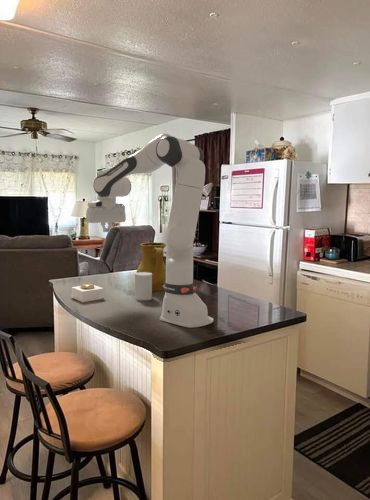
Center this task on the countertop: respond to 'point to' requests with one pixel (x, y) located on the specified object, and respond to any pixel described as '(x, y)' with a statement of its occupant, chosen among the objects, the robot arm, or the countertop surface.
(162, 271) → the pitcher
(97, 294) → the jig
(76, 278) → the countertop surface
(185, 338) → the countertop surface
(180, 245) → the robot arm
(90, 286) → the brass dome knob
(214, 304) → the countertop surface
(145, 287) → the white cylinder
